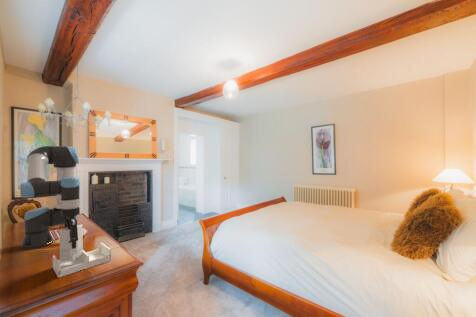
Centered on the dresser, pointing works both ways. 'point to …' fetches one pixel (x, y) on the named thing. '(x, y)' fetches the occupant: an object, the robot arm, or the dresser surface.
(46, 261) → the dresser surface
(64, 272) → the caddy rack
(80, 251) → the skincare box
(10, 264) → the dresser surface
